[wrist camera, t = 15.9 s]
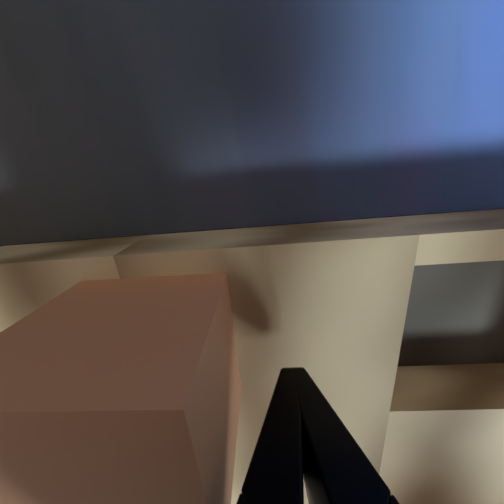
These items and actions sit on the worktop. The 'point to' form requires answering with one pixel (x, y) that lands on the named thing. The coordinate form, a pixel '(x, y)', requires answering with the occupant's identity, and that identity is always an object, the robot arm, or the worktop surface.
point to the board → (340, 330)
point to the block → (122, 395)
